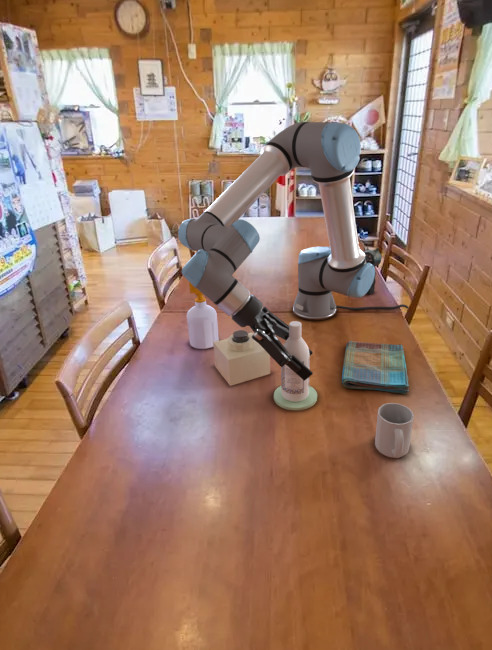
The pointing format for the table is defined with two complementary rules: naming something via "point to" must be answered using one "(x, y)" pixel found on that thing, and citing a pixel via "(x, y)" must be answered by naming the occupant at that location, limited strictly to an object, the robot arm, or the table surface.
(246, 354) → the push button box
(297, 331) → the bath foam
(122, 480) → the table surface
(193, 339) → the spray bottle
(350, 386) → the dish towel
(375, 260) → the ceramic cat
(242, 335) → the push button
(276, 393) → the mat
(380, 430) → the cup
